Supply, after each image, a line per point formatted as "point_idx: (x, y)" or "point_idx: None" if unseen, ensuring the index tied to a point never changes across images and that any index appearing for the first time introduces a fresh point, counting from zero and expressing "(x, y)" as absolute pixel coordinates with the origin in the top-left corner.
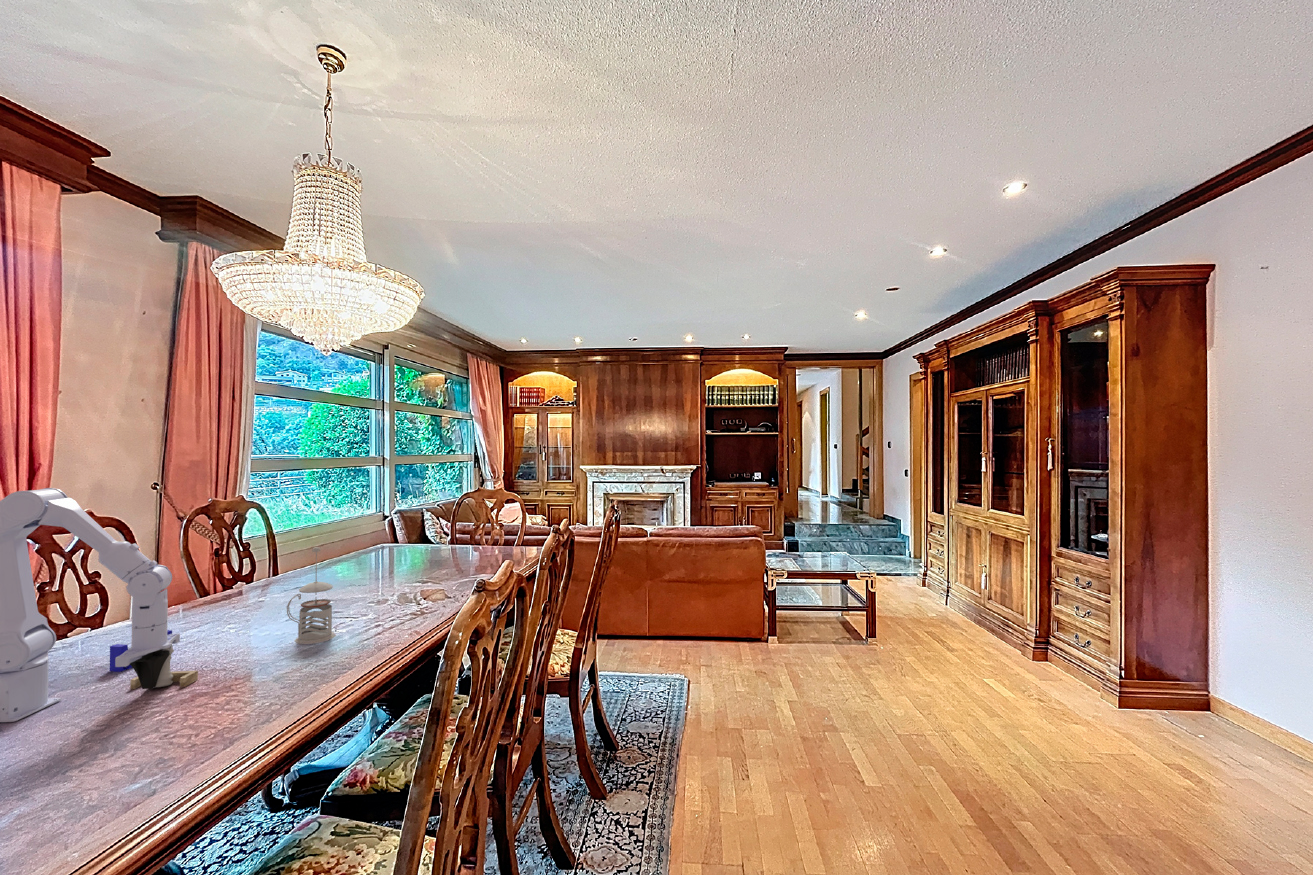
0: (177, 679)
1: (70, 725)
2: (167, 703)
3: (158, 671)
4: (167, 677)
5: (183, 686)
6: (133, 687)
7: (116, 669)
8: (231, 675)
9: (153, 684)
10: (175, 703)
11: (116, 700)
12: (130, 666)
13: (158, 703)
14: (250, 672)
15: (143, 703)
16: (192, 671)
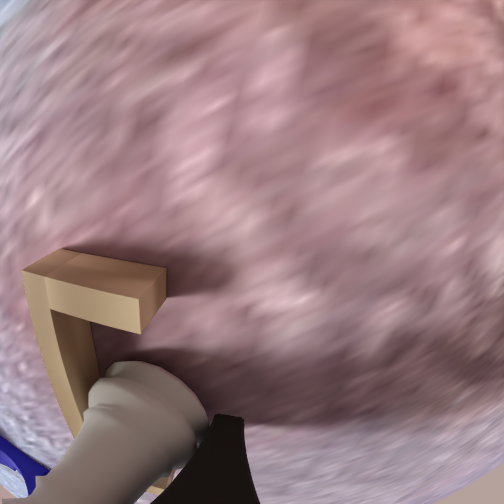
0: (86, 351)
1: (471, 448)
2: (451, 231)
3: (199, 488)
4: (149, 406)
5: (164, 276)
6: None
7: None
8: (34, 72)
9: (242, 432)
10: (467, 179)
11: (294, 467)
12: (42, 470)
13: (430, 288)
14: (31, 3)
15: (391, 367)
16: (36, 299)
